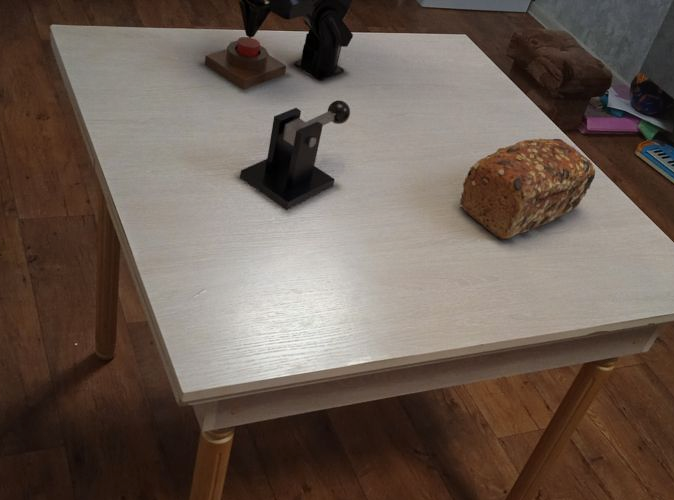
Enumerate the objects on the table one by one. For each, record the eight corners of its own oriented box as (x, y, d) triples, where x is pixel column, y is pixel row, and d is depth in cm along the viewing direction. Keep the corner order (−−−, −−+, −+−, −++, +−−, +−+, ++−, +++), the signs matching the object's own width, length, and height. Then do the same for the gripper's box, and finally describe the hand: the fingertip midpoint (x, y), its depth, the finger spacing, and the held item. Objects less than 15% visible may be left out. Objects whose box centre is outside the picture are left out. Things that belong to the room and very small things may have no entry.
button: (247, 45, 137) (248, 35, 136) (263, 54, 136) (264, 44, 134) (231, 49, 135) (233, 39, 133) (247, 59, 133) (249, 49, 132)
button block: (246, 51, 142) (249, 31, 140) (285, 74, 139) (288, 55, 137) (204, 64, 136) (206, 44, 133) (243, 89, 133) (246, 69, 130)
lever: (335, 113, 120) (339, 93, 117) (352, 123, 118) (356, 104, 116) (279, 140, 112) (282, 119, 110) (296, 151, 111) (300, 130, 109)
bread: (503, 246, 117) (529, 187, 110) (451, 204, 121) (472, 146, 115) (580, 212, 127) (608, 157, 120) (529, 175, 132) (553, 120, 125)
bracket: (287, 155, 122) (298, 95, 115) (333, 185, 119) (347, 125, 112) (239, 177, 115) (248, 114, 109) (286, 209, 112) (298, 147, 105)
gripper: (179, -82, 121) (172, 21, 131) (271, -31, 114) (257, 74, 125) (233, -91, 128) (223, 8, 138) (323, -43, 121) (305, 57, 132)
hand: (250, 36), depth 133 cm, fingers closed
